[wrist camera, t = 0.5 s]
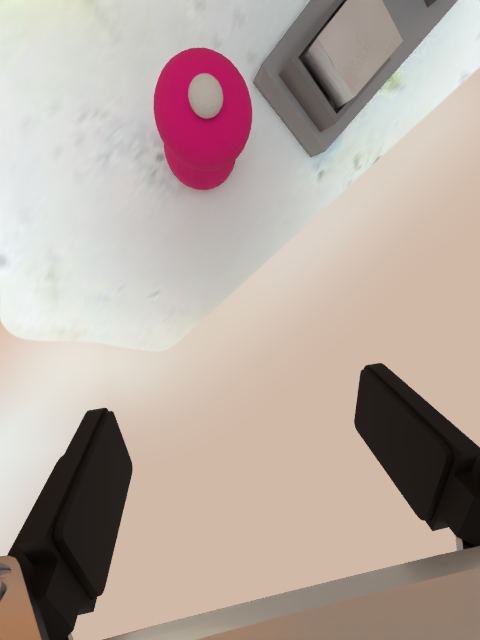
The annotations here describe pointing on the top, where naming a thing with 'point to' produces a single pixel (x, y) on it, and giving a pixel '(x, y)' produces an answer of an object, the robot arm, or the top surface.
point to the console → (304, 88)
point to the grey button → (352, 48)
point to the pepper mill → (202, 116)
